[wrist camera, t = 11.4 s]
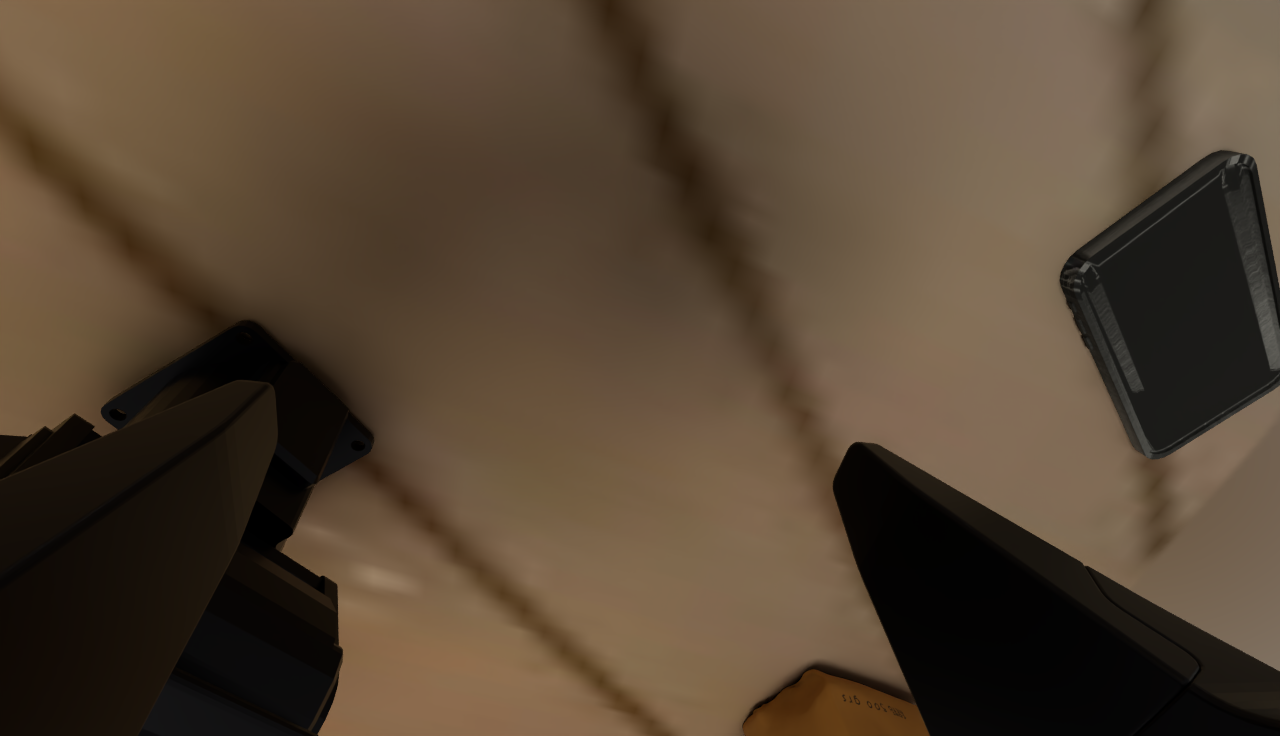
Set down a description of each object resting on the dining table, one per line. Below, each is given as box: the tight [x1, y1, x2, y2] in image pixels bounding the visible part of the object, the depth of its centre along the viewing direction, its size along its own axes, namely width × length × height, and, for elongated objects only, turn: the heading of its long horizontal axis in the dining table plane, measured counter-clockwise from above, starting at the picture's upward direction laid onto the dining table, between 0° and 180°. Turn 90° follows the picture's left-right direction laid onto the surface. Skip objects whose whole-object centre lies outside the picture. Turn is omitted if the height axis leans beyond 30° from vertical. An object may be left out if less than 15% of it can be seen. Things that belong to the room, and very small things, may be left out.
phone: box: [1060, 150, 1280, 459], centre depth 28 cm, size 8×1×15 cm
